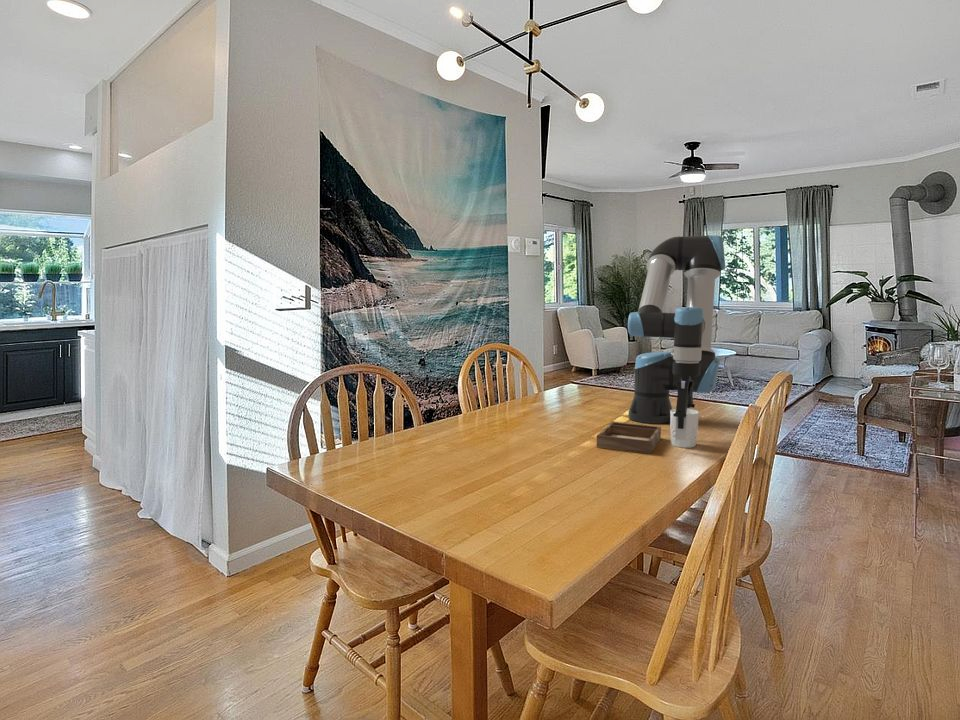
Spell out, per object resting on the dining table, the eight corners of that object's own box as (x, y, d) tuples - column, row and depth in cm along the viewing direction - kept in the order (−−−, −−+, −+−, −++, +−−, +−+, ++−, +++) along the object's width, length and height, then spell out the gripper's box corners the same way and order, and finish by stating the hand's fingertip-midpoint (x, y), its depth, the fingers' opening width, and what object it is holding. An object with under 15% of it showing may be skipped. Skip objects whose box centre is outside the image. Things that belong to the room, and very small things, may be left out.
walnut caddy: (611, 432, 178) (611, 421, 178) (660, 438, 172) (661, 426, 171) (596, 447, 162) (596, 435, 162) (650, 454, 156) (650, 441, 155)
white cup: (699, 449, 160) (701, 414, 159) (670, 447, 162) (672, 413, 160) (695, 441, 168) (696, 408, 167) (667, 440, 169) (668, 407, 168)
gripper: (678, 356, 174) (675, 423, 177) (666, 365, 152) (663, 442, 155) (704, 357, 171) (701, 426, 174) (696, 367, 149) (692, 446, 151)
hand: (683, 434), depth 164 cm, fingers open, 13 cm apart
